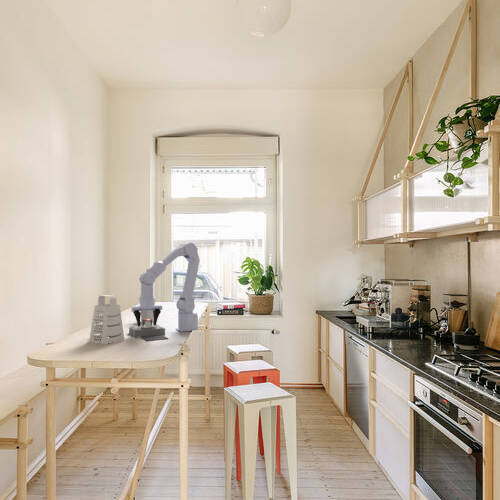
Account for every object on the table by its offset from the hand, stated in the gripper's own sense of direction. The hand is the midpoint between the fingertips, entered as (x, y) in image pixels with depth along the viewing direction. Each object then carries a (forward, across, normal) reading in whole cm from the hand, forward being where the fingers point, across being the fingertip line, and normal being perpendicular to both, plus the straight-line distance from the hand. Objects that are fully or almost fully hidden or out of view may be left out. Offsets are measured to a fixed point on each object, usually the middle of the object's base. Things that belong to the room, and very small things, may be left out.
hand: (146, 325), depth 202 cm
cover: (+4, 0, 0) cm, 4 cm away
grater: (+4, -20, -8) cm, 22 cm away
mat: (+4, 0, -12) cm, 13 cm away
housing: (+4, 0, 0) cm, 4 cm away
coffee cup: (+4, +11, +38) cm, 40 cm away
